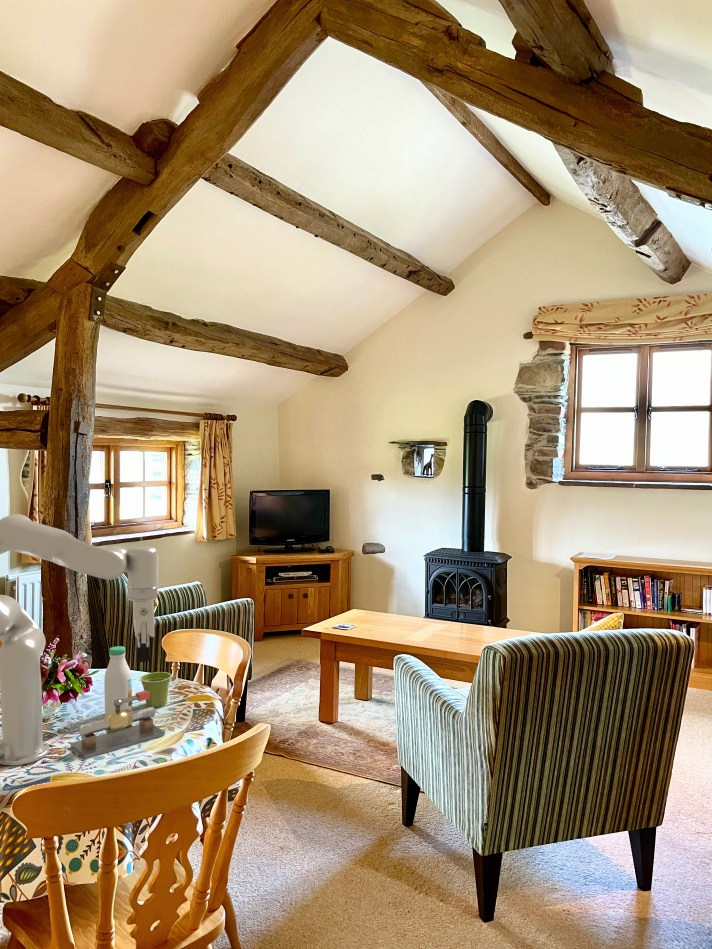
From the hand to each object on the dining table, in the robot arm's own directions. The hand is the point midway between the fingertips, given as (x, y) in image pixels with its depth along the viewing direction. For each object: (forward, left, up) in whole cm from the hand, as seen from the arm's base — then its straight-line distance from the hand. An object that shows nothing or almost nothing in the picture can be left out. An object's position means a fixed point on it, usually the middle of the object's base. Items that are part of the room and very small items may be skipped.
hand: (143, 660), depth 189 cm
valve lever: (-1, +6, -12) cm, 14 cm away
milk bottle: (+3, +24, -22) cm, 33 cm away
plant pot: (+15, +24, -22) cm, 36 cm away
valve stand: (-5, +5, -22) cm, 23 cm away
